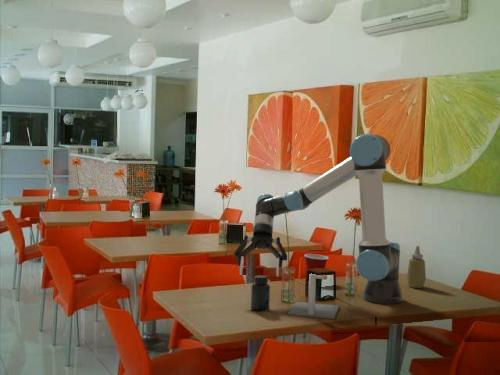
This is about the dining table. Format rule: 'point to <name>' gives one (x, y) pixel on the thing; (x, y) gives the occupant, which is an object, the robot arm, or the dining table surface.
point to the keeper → (312, 308)
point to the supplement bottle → (260, 294)
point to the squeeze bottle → (416, 270)
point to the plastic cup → (315, 261)
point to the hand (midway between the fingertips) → (259, 273)
